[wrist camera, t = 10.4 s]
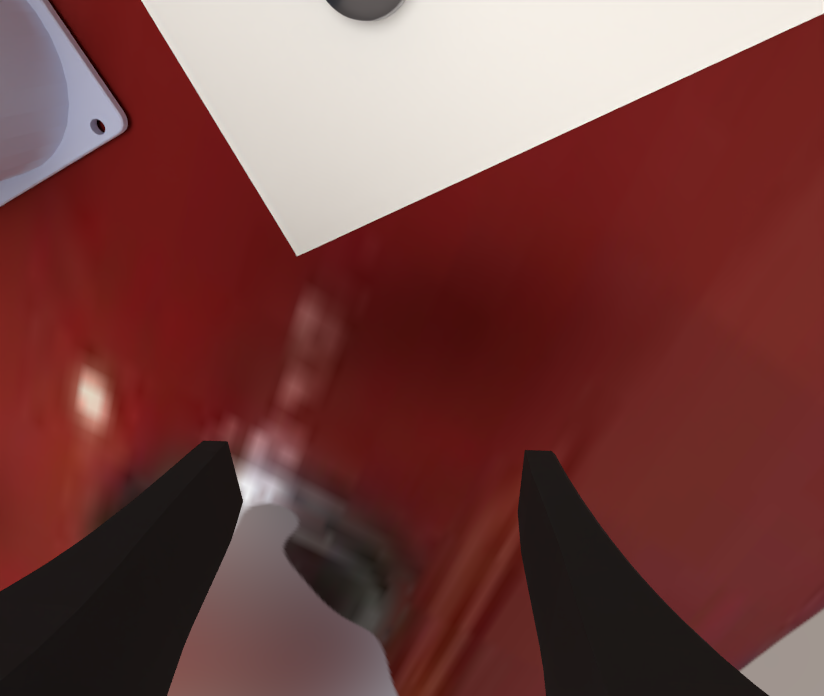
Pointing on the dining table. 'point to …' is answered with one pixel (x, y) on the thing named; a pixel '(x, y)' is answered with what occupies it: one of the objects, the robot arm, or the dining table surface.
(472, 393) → the dining table surface
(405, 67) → the frame slab
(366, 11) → the bar
